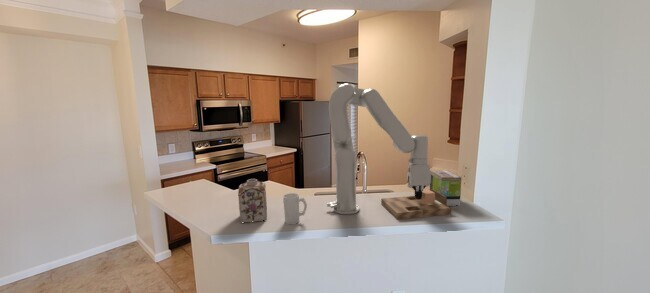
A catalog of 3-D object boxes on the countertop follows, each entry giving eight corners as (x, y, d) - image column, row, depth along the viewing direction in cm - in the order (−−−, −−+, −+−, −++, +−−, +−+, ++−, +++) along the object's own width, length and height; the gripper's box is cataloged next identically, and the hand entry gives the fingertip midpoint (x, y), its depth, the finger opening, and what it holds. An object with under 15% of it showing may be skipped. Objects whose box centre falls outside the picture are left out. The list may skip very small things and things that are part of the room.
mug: (283, 225, 112) (282, 198, 111) (285, 218, 119) (284, 193, 117) (306, 224, 112) (305, 197, 111) (307, 218, 119) (306, 192, 117)
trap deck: (397, 219, 114) (397, 204, 113) (381, 204, 133) (381, 191, 132) (451, 214, 118) (451, 199, 117) (428, 200, 137) (428, 187, 136)
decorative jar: (267, 211, 128) (265, 175, 126) (267, 220, 117) (264, 182, 115) (242, 214, 126) (239, 178, 123) (239, 224, 115) (236, 184, 112)
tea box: (460, 206, 127) (462, 176, 125) (440, 206, 128) (441, 177, 126) (447, 196, 142) (448, 169, 140) (428, 196, 143) (429, 170, 140)
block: (425, 203, 123) (425, 193, 123) (419, 200, 128) (419, 190, 128) (434, 203, 124) (435, 193, 123) (429, 199, 129) (429, 189, 128)
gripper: (407, 163, 118) (407, 202, 120) (438, 161, 120) (437, 199, 123) (400, 160, 125) (400, 197, 128) (429, 158, 127) (428, 194, 130)
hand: (418, 198), depth 125 cm, fingers closed
